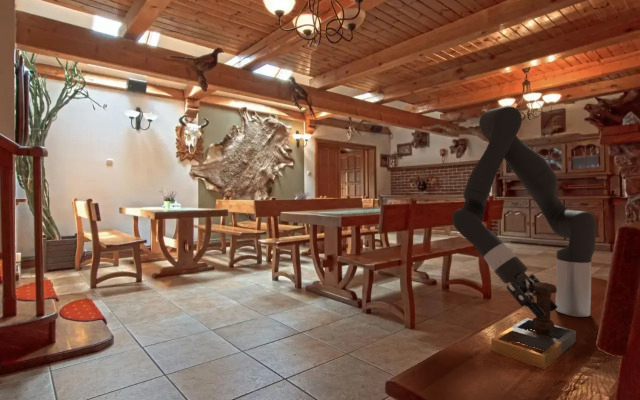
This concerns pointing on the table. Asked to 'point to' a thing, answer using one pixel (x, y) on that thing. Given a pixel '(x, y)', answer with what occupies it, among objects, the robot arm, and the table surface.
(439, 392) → the table surface
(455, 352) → the table surface
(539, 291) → the bolt
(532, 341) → the tray
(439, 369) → the table surface
